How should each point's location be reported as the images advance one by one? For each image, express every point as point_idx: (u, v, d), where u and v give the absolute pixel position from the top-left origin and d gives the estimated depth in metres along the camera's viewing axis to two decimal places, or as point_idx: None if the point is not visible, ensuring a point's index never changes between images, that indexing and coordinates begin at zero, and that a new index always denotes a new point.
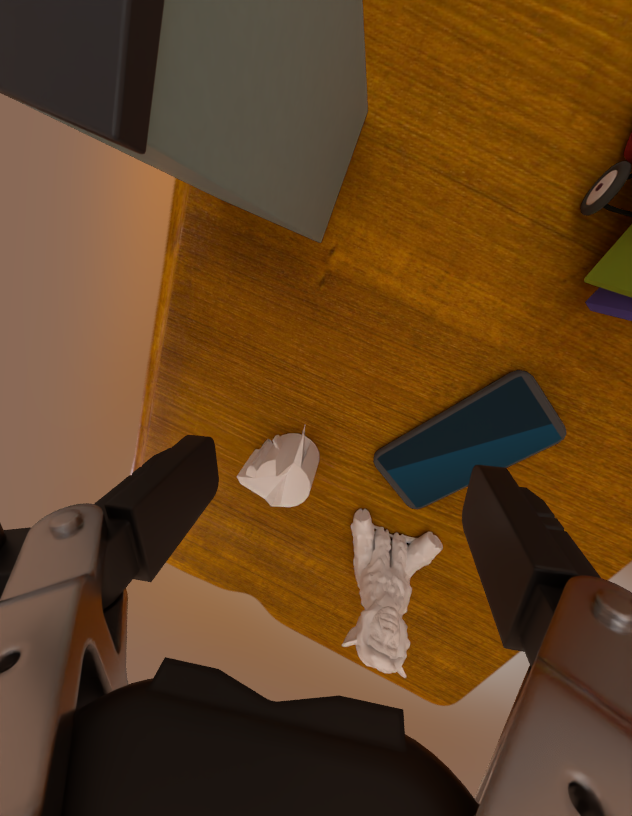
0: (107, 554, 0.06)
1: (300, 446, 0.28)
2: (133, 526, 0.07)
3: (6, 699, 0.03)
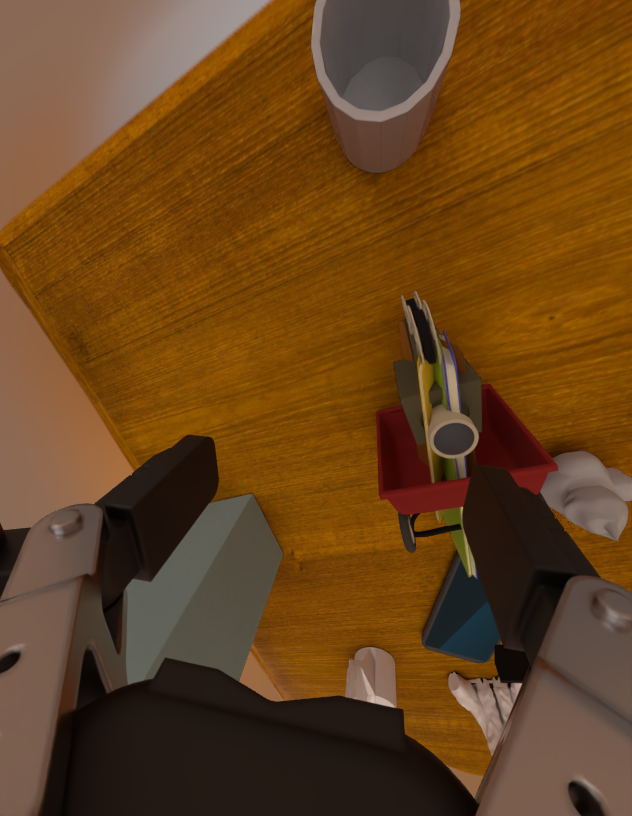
0: (107, 554, 0.06)
1: (364, 678, 0.36)
2: (133, 526, 0.07)
3: (6, 699, 0.03)
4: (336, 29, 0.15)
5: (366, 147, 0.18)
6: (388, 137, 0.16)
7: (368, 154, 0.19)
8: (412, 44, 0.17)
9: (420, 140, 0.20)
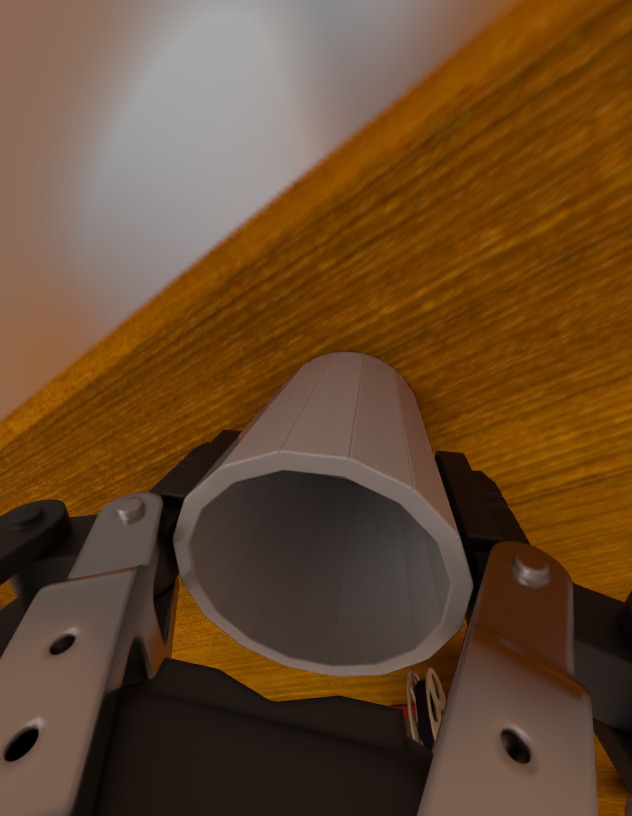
0: (167, 540, 0.07)
1: None
2: None
3: (58, 683, 0.03)
4: None
5: None
6: None
7: None
8: None
9: None
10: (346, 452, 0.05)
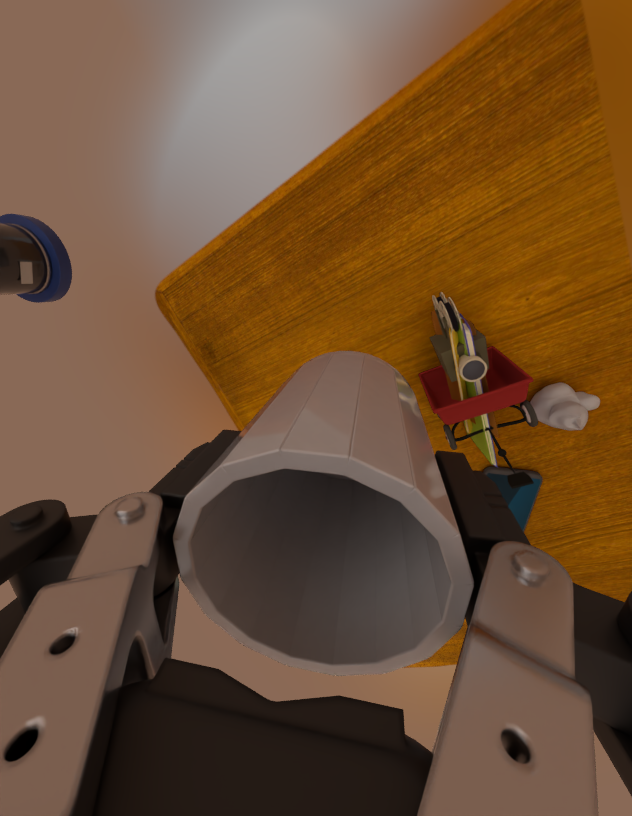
0: (167, 540, 0.07)
1: None
2: None
3: (57, 683, 0.03)
4: None
5: None
6: None
7: None
8: None
9: None
10: (346, 450, 0.05)
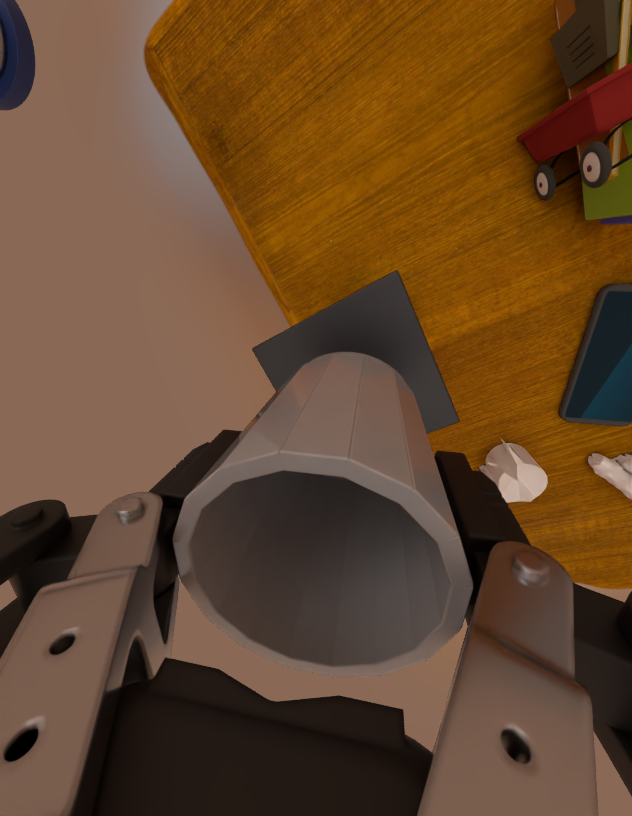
0: (166, 539, 0.07)
1: (511, 452, 0.37)
2: None
3: (57, 683, 0.03)
4: None
5: None
6: None
7: None
8: None
9: None
10: (346, 452, 0.05)
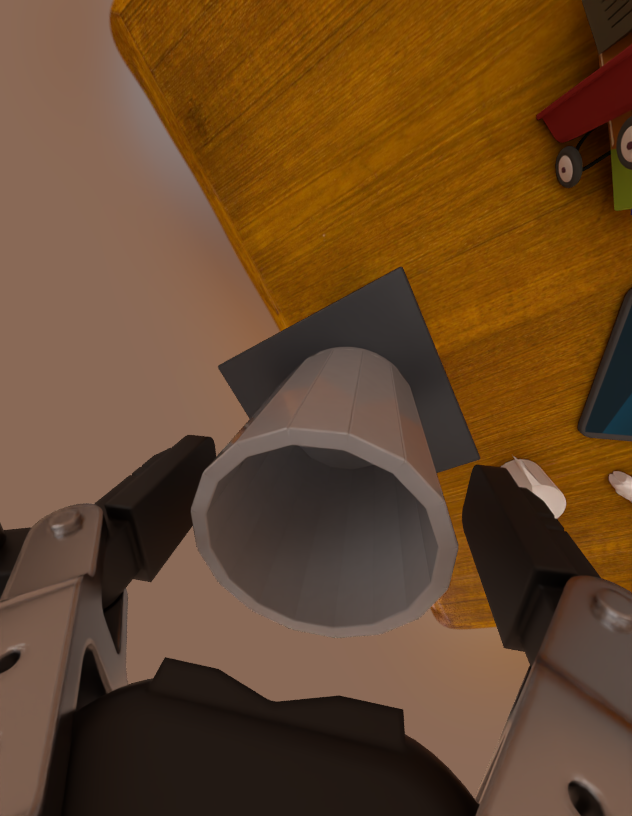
0: (107, 554, 0.06)
1: (525, 471, 0.33)
2: (133, 526, 0.07)
3: (6, 699, 0.03)
4: None
5: None
6: None
7: None
8: None
9: None
10: (346, 429, 0.06)
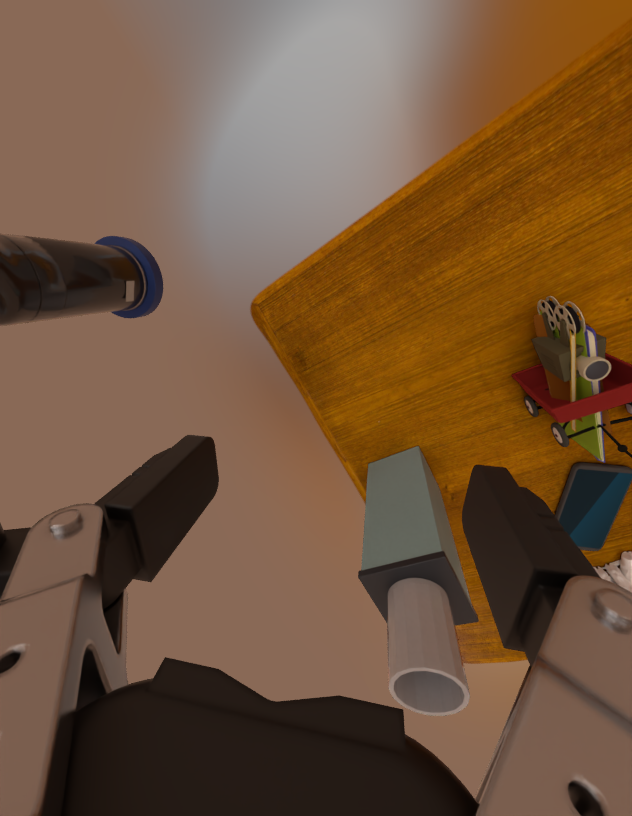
0: (107, 554, 0.06)
1: None
2: (133, 526, 0.07)
3: (7, 699, 0.03)
4: None
5: None
6: None
7: None
8: None
9: None
10: (440, 668, 0.24)
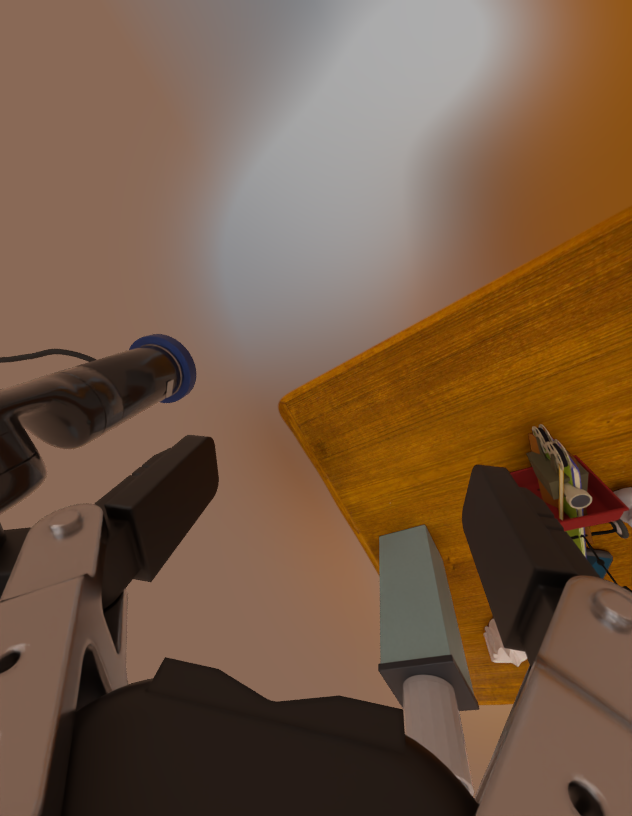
0: (107, 554, 0.06)
1: None
2: (133, 526, 0.07)
3: (6, 699, 0.03)
4: None
5: None
6: None
7: None
8: None
9: None
10: (451, 770, 0.30)
